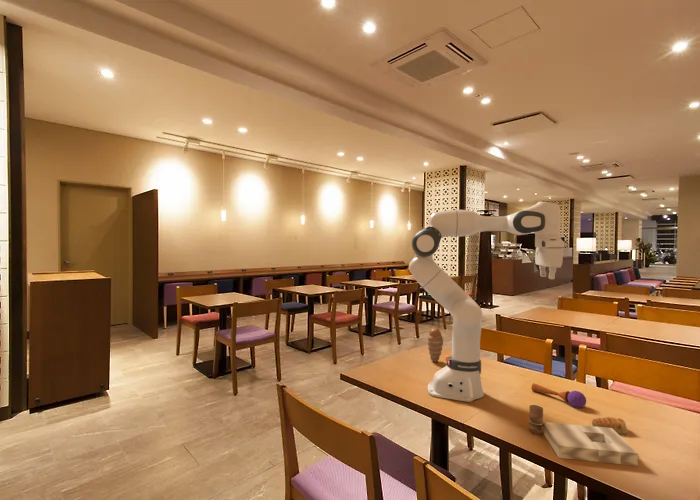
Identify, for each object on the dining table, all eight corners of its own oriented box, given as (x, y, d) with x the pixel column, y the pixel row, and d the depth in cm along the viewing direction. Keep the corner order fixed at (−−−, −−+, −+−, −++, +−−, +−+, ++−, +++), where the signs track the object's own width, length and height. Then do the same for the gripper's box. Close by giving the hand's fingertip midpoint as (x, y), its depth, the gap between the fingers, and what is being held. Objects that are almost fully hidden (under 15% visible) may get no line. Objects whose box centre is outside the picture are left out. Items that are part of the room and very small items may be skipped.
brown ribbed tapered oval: (446, 363, 184) (446, 328, 184) (431, 365, 183) (431, 329, 182) (437, 358, 193) (437, 324, 193) (424, 359, 191) (424, 325, 191)
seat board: (558, 457, 104) (559, 445, 104) (542, 432, 118) (542, 421, 118) (637, 465, 100) (637, 453, 100) (611, 438, 114) (611, 428, 114)
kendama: (538, 380, 153) (589, 393, 136) (537, 394, 152) (589, 409, 135) (529, 380, 150) (581, 393, 133) (529, 395, 149) (580, 410, 132)
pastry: (596, 432, 119) (596, 420, 119) (588, 422, 125) (588, 411, 125) (629, 436, 116) (629, 424, 116) (620, 426, 122) (620, 414, 122)
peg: (531, 434, 117) (531, 410, 116) (527, 428, 121) (527, 404, 120) (544, 435, 116) (545, 411, 116) (540, 429, 120) (541, 405, 120)
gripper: (531, 242, 153) (530, 275, 153) (547, 242, 133) (547, 280, 133) (547, 242, 152) (547, 275, 152) (566, 242, 132) (566, 280, 132)
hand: (547, 277), depth 142 cm, fingers open, 8 cm apart
